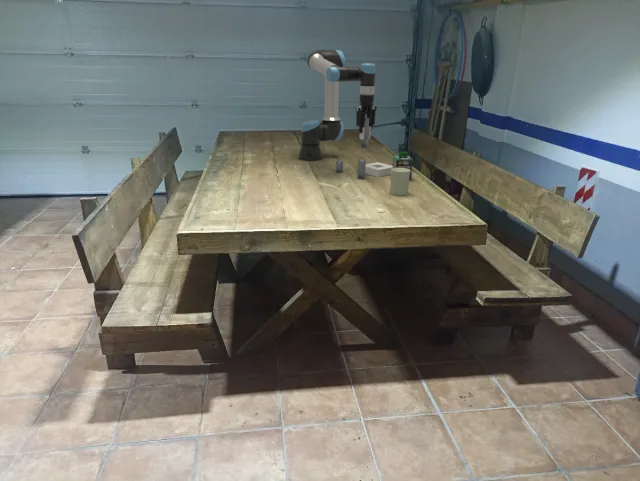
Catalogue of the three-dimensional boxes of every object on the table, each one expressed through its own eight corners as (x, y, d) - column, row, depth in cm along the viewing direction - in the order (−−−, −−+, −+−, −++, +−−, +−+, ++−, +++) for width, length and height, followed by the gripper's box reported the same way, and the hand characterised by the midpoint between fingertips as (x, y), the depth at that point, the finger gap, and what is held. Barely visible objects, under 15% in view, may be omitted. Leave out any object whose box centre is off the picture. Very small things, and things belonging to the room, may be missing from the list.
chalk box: (407, 176, 271) (409, 149, 265) (411, 180, 262) (414, 153, 257) (391, 176, 270) (393, 149, 265) (394, 180, 262) (396, 153, 256)
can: (388, 190, 243) (390, 166, 239) (407, 190, 243) (409, 166, 239) (390, 195, 235) (392, 170, 230) (409, 195, 235) (411, 171, 230)
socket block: (360, 172, 277) (360, 165, 276) (377, 168, 286) (378, 162, 284) (378, 177, 267) (378, 170, 266) (395, 173, 276) (395, 166, 274)
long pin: (359, 146, 268) (360, 117, 262) (364, 146, 270) (366, 116, 264) (364, 148, 265) (365, 118, 259) (369, 147, 267) (371, 117, 262)
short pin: (334, 171, 278) (334, 161, 276) (339, 170, 280) (339, 160, 278) (339, 172, 275) (339, 162, 273) (344, 172, 277) (344, 161, 275)
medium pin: (356, 177, 265) (356, 159, 261) (361, 176, 267) (362, 158, 264) (361, 179, 262) (362, 161, 258) (366, 178, 264) (367, 160, 261)
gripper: (359, 95, 250) (357, 141, 258) (383, 94, 260) (380, 138, 268) (350, 94, 255) (348, 139, 264) (373, 93, 265) (371, 136, 274)
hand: (364, 138), depth 266 cm, fingers closed on long pin, 4 cm apart
